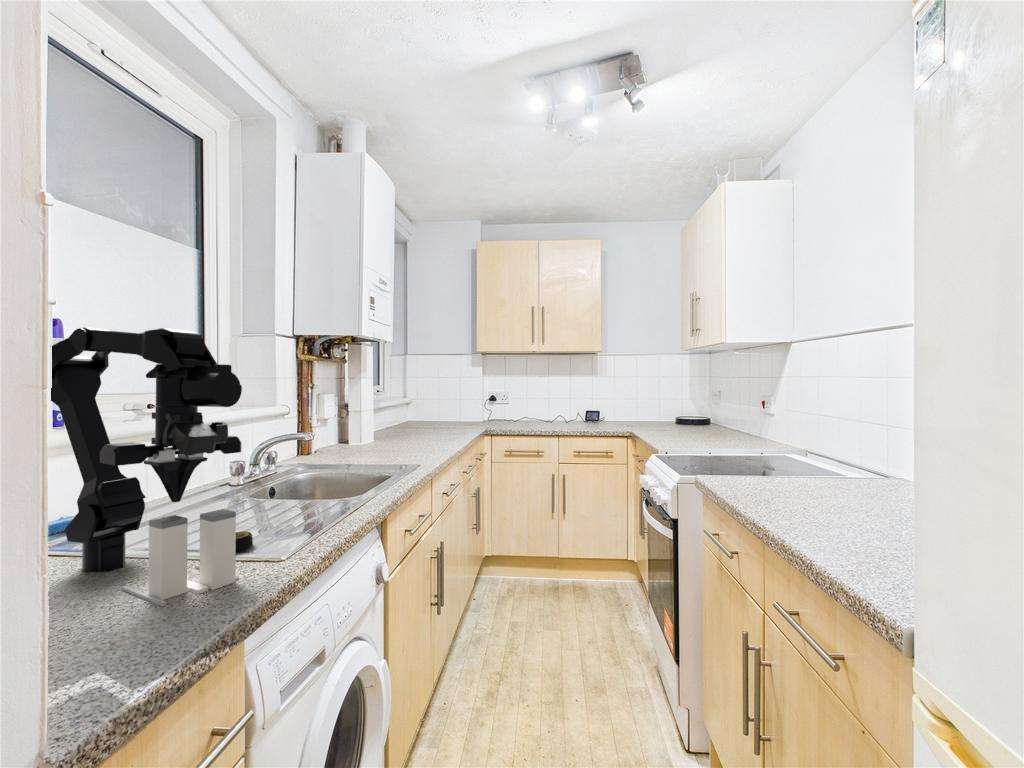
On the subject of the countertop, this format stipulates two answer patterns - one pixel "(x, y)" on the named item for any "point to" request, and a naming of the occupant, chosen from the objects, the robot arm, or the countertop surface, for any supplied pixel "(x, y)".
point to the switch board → (191, 587)
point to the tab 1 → (167, 557)
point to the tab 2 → (217, 548)
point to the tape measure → (243, 541)
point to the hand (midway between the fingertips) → (175, 501)
